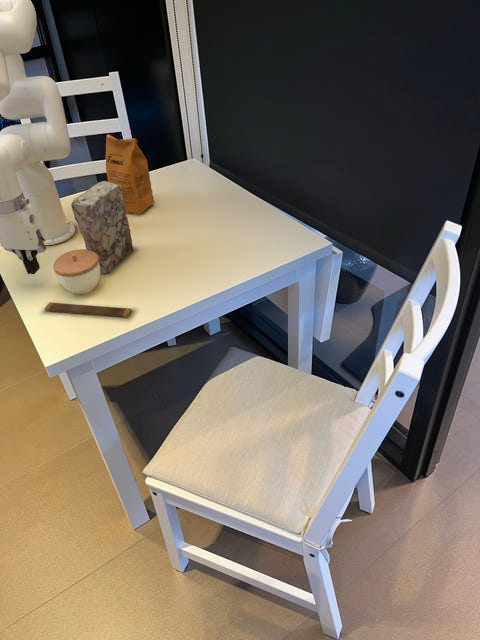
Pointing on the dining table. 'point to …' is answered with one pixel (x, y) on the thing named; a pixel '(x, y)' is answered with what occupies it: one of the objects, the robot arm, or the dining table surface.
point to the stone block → (104, 224)
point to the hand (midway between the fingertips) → (34, 271)
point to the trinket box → (78, 270)
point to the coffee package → (129, 173)
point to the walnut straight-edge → (88, 310)
